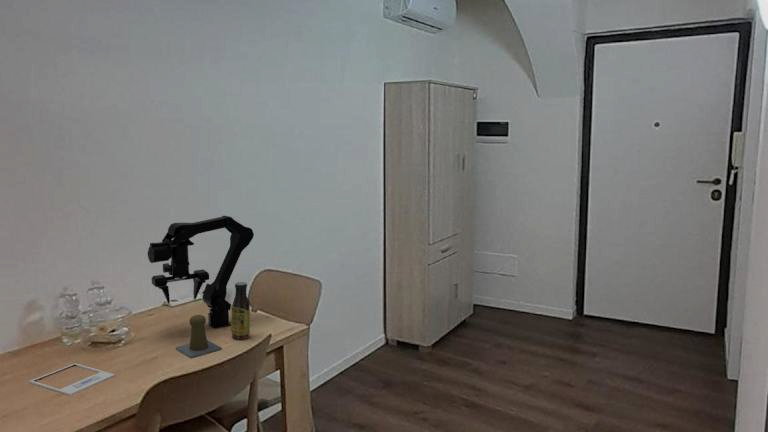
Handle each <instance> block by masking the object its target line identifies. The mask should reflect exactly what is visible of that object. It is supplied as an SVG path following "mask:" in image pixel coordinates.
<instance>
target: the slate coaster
mask: <svg viewBox="0 0 768 432" xmlns="http://www.w3.org/2000/svg"><path fill="white" fill-rule="evenodd" d="M207 343H208V348H207V349H204V350H201V351H192V350H190V343H187V344H186V343H185V344H183V345H178V346H176V347H175V350H176V351H178V352H180V353H182V354H183V355H185V356H186V357H188V358H190V359H193V358H194V359H195V358H197V357H201V356H204V355H208V354H210V353H214V352H218V351H221V350H223V347H221V346H220V345H218V344H216V343H214V342H212V341H210V340H209V339H207Z"/></svg>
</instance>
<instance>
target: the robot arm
mask: <svg viewBox="0 0 768 432" xmlns="http://www.w3.org/2000/svg"><path fill="white" fill-rule="evenodd" d="M220 229H226V231H228V232H229V233H230V238H229V248H228V250H227V252H226V255H225V257H224V259H223V261H222V263H221V265H220V268H219V270H218V272H217V274H216V277H215V278H214V280H213V282H212V283H207V281H208V280H210V273H209V272H208V271H207V270H205V269H195V270H193V273H190V261H189V259H190V258H189V246H194V245H195V243H194V242H192V241H191V240H190V239H191V238H194V237H195V236H196V235H197V236H198V234H203V233H208V232H212V231H216V230H220ZM254 235H255V234H254V230H253V228H251V227H249V226H244V224H241V223H240V222H238V221H237V220H235V219H234V218H233V217H232V216H228V215H221V216H218V217H214V218H208V219H204V220H200V221H195V222H172V223H171V224H170V225H169V227H168V229H167V233H166V234H165V235H164V237H163V239H162V240H161V242H150V243H149V246H148V250H147V259H148V261H149V263H151V264H155V263H162V262H165V263H162V272H163V273H166V274H167V273H168V275H169V276H166V275H164V274H159V275H153V276H152V277H151V284H152V285H153V286H154V287H155V288H158V289H159V290H161V291H162V292H163V295H164V297H165V300H166V303H167V304H168V305H169V304H170V302H171V301H170V289H169V288H170V287H169V286H168V285H167V284H168V283H172V282H178V281H179V282H180V281H187V280H193V293H192V294H193V299H194V300H196V299H197V297H198V294H199V292H200V289H202V288H201V287H202V286H203V284H205V283H206V285H205V288H204V290H203V291H202V292H201V293H202V301H203V302H204V303H205V304H206V306H207V307H208V308H209V312H208V313H207V315H208V321H207V322H208V325H210V326H211V327H212V328H213V329H215V328H217V329H218V328H222V327H226V326H227V327H228V326H232V323H231V322H230V321H229V320H230V318H229V316H230V315H229V314H230V313H229V311H231V309H232V304H231V303H230V302H229V301H228V300H227V299H226V298H227V291H228V290H227V286H228V283H229V282H230V279H231V277H232V275H233V272H234V270H235V267H236V265H237V263H238V262H239V258H240V256H241V255H242V252H243V251H244V250H245V249H246V248H247V247H248V246H249V245H250V243H251V242H252V240H253V238H254ZM169 260H170V263H166V262H168V261H169Z"/></svg>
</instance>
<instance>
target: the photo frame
mask: <svg viewBox="0 0 768 432" xmlns="http://www.w3.org/2000/svg"><path fill="white" fill-rule="evenodd" d="M73 366H76V367H77V368H81V369H84V370H88V371H91V370H92V371H91V372H95V371H96V372H95V374H92V375H91V376H87V377H85V378H83V379H81V380H78V381H76V382H74V383H72V384H69V385H67V386H64V387H62V388H60V389H59V388H57V387H54V386H50V385H49V384H44V383H42V382H41V383H40V382H37V381H38V380H40V379H43V378H45V377H48V376H50V375H52V374H55V373H58V372H61V371H63V370H66V369H68V368H70V367H73ZM98 372H99V373H98ZM113 376H114V377H116V374H115V373H111V372H108V371H105V370H100V369H97V368H93V367H91V366H90V367H89V366H87V365H83V364H79V363H76V362H75V363H72V364H69V365H67V366H65V367H64V366H63V367H61V368H60V369H56V370H55V371H52V372H49V373H47V374H44V375H41V376H39V377H36V378H34V379H30V380H29V381H28V383H29V384H32V385H35V386H38V387H41V388H45V389H47V388H48V389H47V390H50V389H51V390H50V391H53V390H54V391H53V392H56V391H58V392H57V393H59V392H61V393H60V394H63V393H64V394H63V395H66V394H67V395H66V396H69V395H72V396H73V394H74V395H76V394H78V393H80V392H79V391H81V390H83V391H85V390H87V389H89V388H88V387H90V388H92V387H94V386H96V385H99V384H101V383H103V382H106V381H107V380H109V378H110V379H111V377H112V378H114V377H113ZM100 382H101V383H100ZM98 383H99V384H98ZM95 384H96V385H95ZM93 385H94V386H93ZM91 386H92V387H91ZM86 388H87V389H86ZM84 389H85V390H84ZM77 392H78V393H77ZM81 392H82V391H81ZM75 393H76V394H75Z"/></svg>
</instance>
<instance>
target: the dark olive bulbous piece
mask: <svg viewBox="0 0 768 432" xmlns="http://www.w3.org/2000/svg"><path fill="white" fill-rule="evenodd" d="M206 322H207V320H206V316H204V315H202V314H195V315H192V316H191V317H190V318H189V325H190V327H191V328H190V340H189V344H190V350H192V351H201V350H204V349H207V348H208V343H207V340H208V339H207V333H206V332H207V331H206V328H205V327H206V326H205V324H207V323H206Z"/></svg>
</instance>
